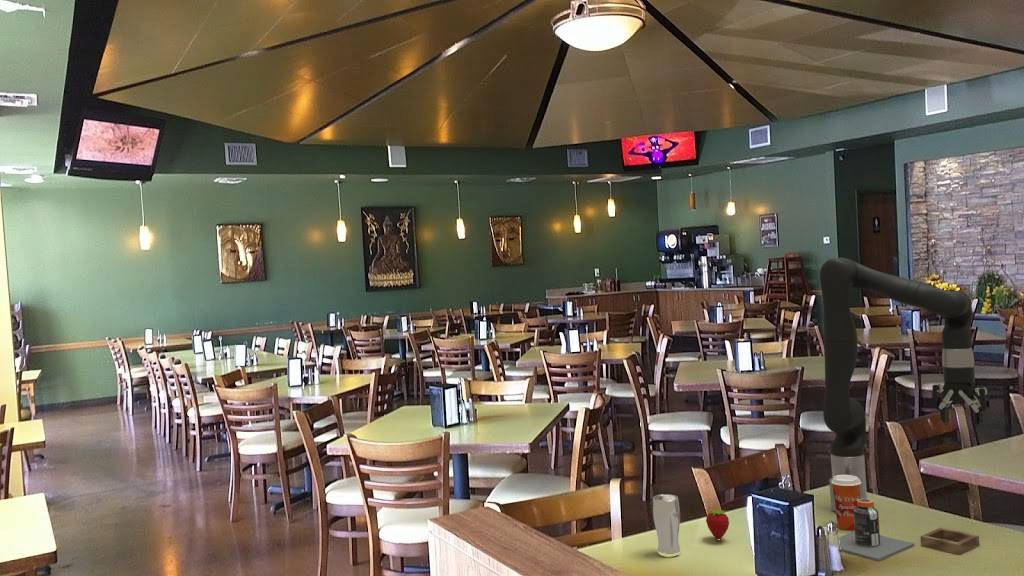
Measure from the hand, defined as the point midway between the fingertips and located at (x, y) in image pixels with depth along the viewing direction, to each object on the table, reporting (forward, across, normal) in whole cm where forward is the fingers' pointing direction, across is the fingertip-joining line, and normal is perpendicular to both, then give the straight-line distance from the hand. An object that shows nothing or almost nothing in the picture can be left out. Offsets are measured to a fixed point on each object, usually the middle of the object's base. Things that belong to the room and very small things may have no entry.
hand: (961, 424), depth 221 cm
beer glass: (+28, -42, -71) cm, 87 cm away
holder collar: (+28, +4, -17) cm, 33 cm away
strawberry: (+28, -40, -54) cm, 73 cm away
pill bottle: (+28, -10, -31) cm, 43 cm away
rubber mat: (+28, -10, -31) cm, 43 cm away
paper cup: (+28, -22, -21) cm, 42 cm away
